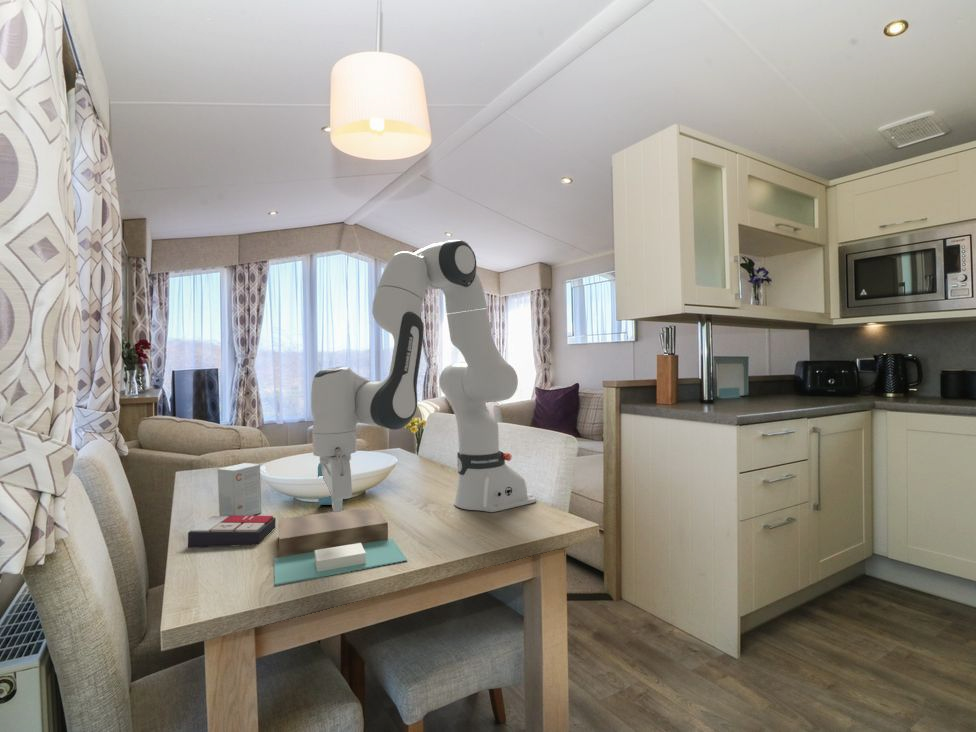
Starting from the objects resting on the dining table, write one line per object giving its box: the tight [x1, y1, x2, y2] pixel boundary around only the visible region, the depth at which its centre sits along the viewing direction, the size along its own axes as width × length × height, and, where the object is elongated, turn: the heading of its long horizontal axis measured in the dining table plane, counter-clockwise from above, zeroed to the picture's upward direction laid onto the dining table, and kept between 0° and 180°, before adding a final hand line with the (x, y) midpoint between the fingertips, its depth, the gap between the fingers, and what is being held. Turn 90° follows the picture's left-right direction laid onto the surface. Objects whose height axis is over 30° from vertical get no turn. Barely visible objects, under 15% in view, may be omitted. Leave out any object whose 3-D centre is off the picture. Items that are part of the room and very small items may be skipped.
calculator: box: [187, 515, 277, 549], centre depth 113 cm, size 11×4×15 cm
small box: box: [217, 462, 262, 517], centre depth 129 cm, size 8×6×13 cm
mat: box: [273, 538, 408, 587], centre depth 98 cm, size 24×13×1 cm, turn 114°
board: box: [278, 505, 389, 557], centre depth 111 cm, size 22×14×4 cm, turn 114°
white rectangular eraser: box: [315, 543, 366, 572], centre depth 97 cm, size 9×6×2 cm, turn 113°
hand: (337, 510), depth 104 cm, fingers closed
